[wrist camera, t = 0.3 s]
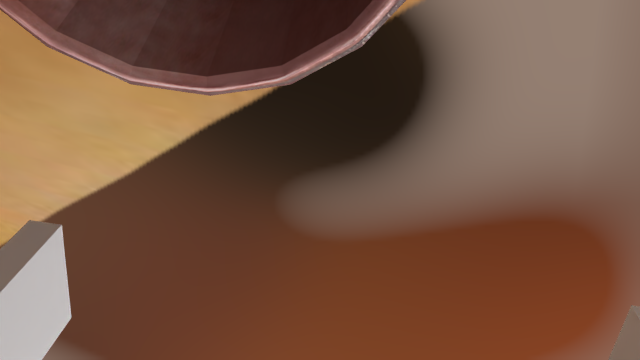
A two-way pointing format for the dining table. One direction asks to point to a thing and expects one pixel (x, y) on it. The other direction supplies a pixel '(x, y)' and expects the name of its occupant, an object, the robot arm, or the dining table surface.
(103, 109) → the dining table surface
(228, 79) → the pottery
